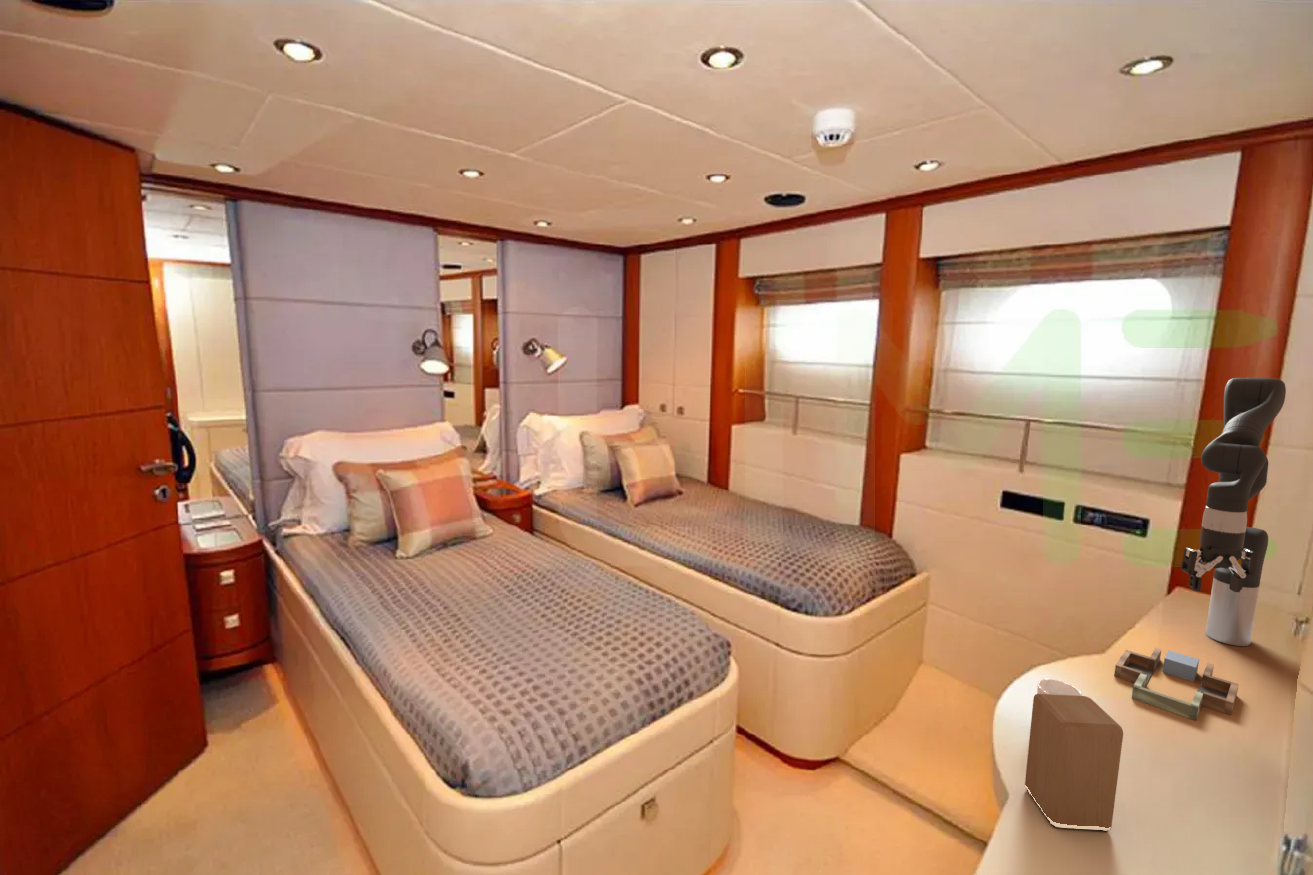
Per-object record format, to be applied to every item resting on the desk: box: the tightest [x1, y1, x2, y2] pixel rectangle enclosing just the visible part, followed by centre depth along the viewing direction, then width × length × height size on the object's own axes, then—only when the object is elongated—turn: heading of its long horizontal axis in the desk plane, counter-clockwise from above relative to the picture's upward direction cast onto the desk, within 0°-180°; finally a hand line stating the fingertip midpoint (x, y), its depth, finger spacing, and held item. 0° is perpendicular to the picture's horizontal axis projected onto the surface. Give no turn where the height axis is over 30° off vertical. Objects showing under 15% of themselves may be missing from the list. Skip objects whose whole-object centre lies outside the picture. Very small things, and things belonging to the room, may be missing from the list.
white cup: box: [1036, 678, 1083, 696], centre depth 126 cm, size 8×8×10 cm
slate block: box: [1162, 649, 1200, 682], centre depth 149 cm, size 6×6×4 cm
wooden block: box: [1024, 693, 1124, 828], centre depth 104 cm, size 10×10×20 cm
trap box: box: [1113, 647, 1239, 721], centre depth 143 cm, size 27×21×3 cm
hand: (1214, 590), depth 141 cm, fingers open, 8 cm apart
